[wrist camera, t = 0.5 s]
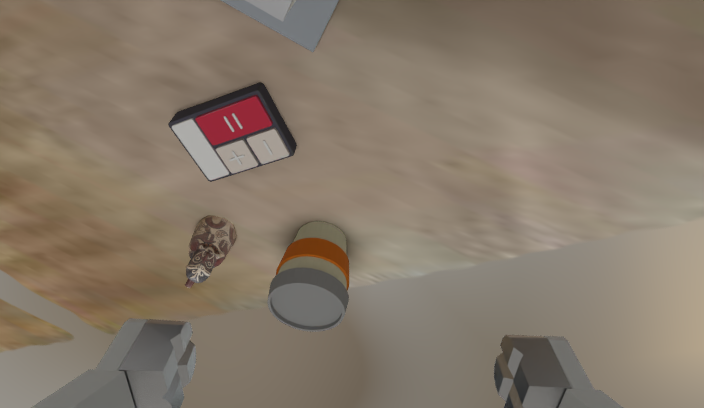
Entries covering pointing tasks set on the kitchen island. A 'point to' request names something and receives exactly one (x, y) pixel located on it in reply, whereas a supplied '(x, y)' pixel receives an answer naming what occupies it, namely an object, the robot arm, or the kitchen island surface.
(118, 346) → the robot arm
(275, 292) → the reusable coffee cup
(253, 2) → the beige rectangular block
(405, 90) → the kitchen island surface
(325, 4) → the base
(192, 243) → the figurine
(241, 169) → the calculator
